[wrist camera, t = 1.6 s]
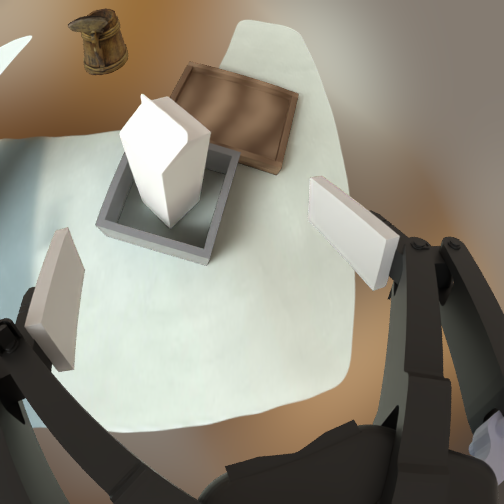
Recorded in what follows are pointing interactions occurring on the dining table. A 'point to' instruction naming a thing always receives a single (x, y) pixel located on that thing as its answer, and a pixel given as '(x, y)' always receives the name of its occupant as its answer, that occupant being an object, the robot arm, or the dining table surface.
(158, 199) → the milk
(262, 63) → the dining table surface
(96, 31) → the wooden mug
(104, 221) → the box
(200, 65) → the tray
